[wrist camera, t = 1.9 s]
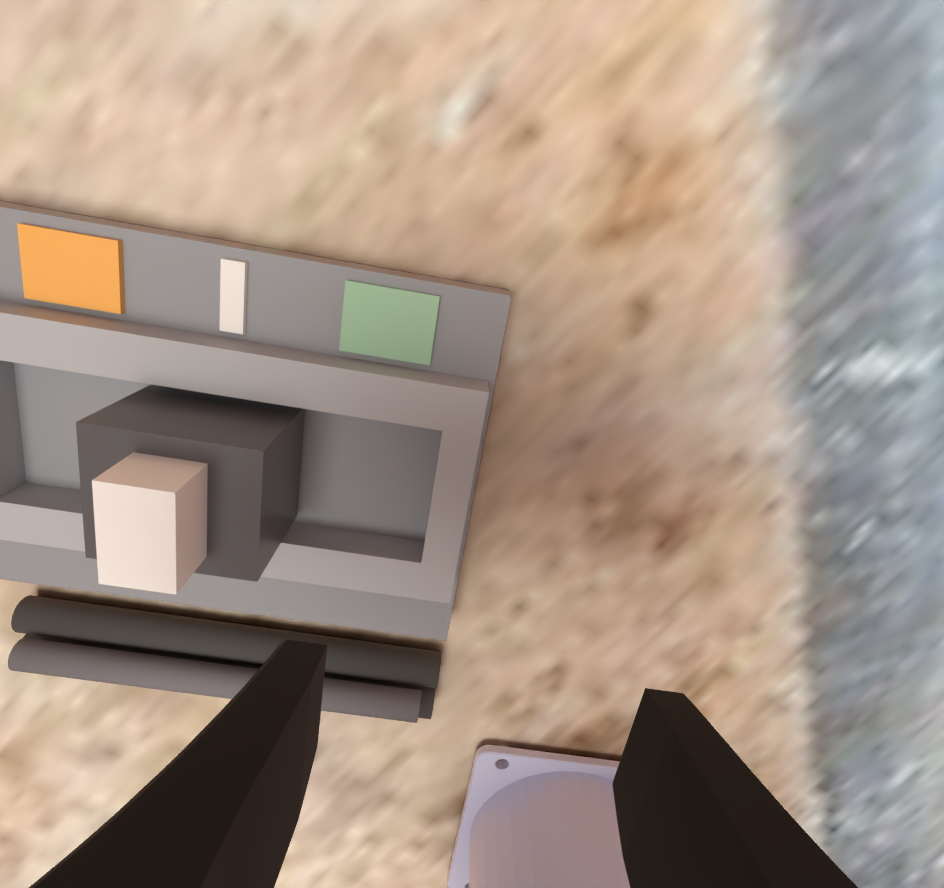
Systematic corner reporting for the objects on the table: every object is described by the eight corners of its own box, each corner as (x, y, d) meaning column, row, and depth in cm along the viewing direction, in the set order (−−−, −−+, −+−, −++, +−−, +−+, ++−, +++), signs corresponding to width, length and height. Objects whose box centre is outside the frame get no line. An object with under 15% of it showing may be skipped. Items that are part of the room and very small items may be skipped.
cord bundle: (441, 644, 21) (438, 689, 19) (431, 700, 22) (427, 749, 20) (35, 588, 20) (-14, 629, 18) (42, 649, 21) (-4, 694, 19)
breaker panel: (507, 289, 16) (514, 301, 14) (448, 611, 20) (444, 667, 18) (-8, 199, 16) (-101, 194, 13) (32, 552, 19) (-35, 602, 17)
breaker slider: (304, 405, 16) (237, 479, 11) (297, 515, 17) (233, 621, 13) (155, 381, 16) (25, 447, 11) (158, 494, 17) (41, 595, 12)
